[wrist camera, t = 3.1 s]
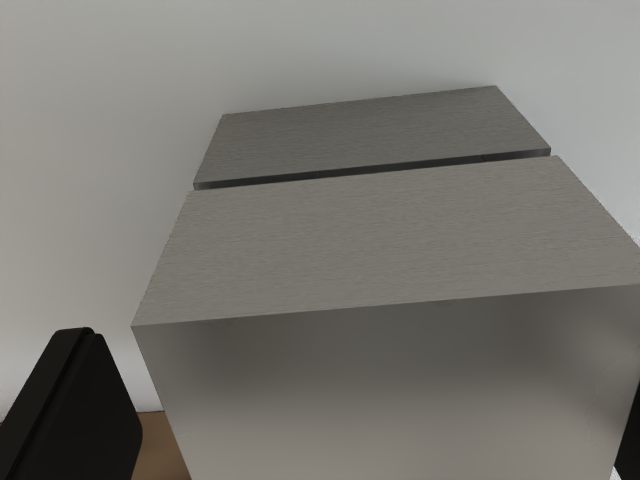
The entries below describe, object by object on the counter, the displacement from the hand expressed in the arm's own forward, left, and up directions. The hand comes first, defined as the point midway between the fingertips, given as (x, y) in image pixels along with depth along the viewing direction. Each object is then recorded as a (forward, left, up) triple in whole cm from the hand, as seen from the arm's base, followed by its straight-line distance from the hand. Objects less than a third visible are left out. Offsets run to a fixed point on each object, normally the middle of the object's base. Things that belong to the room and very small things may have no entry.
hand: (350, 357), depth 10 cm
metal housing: (-1, 0, -4) cm, 4 cm away
